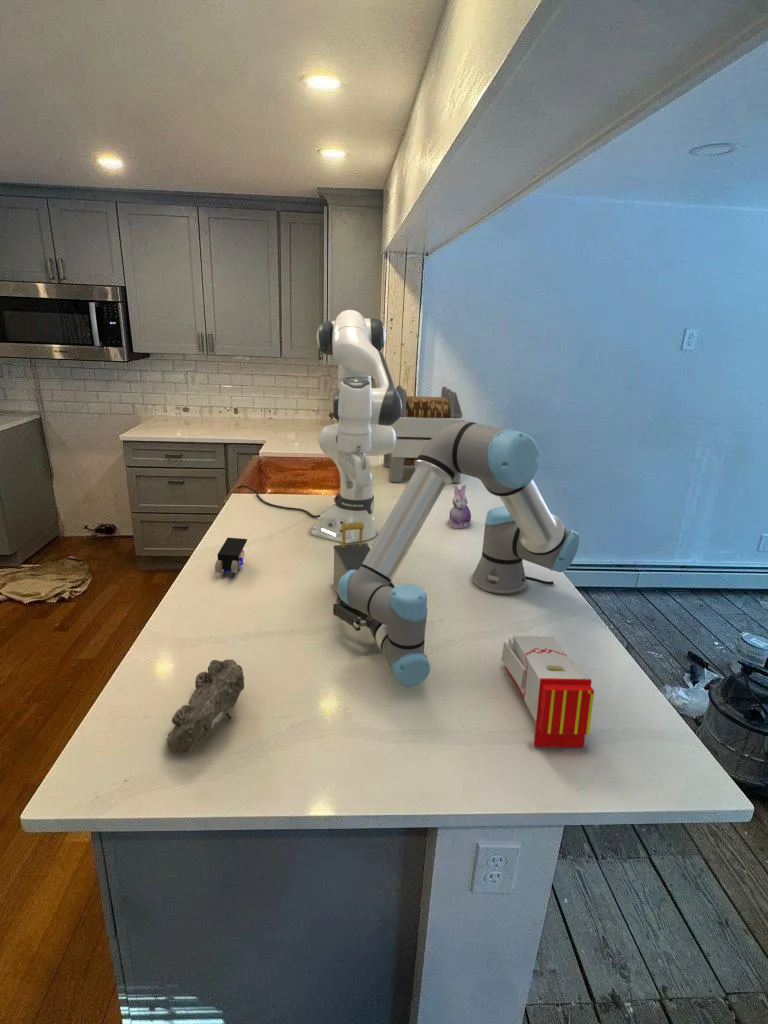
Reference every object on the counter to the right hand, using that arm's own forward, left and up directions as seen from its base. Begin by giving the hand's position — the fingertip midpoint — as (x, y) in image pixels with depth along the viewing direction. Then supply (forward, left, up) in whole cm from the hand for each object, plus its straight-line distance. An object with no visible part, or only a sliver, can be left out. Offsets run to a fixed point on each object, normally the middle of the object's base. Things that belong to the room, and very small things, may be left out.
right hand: (365, 590), depth 146 cm
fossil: (+39, +32, -6) cm, 51 cm away
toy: (-25, +43, -6) cm, 50 cm away
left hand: (0, -15, +21) cm, 26 cm away
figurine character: (+32, -33, -6) cm, 46 cm away
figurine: (-51, -54, -6) cm, 75 cm away
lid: (0, -8, +5) cm, 9 cm away
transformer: (-61, -122, -6) cm, 137 cm away
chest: (0, -7, -6) cm, 10 cm away
